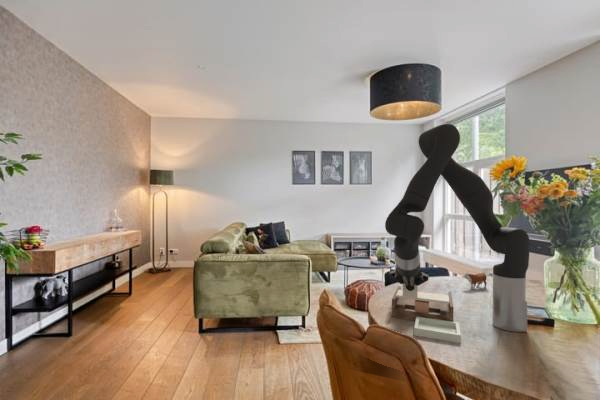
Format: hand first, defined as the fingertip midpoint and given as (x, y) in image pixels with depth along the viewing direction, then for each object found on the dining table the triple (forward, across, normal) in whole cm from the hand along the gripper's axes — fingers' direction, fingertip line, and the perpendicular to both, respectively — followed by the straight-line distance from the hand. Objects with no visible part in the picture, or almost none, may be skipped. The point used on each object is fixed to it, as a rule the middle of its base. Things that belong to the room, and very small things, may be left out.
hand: (410, 288), depth 114 cm
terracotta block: (+8, -4, +5) cm, 10 cm away
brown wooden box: (+13, -4, +2) cm, 14 cm away
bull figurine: (+48, -26, -32) cm, 64 cm away
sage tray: (+1, -9, +14) cm, 17 cm away
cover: (+6, -4, -1) cm, 7 cm away
